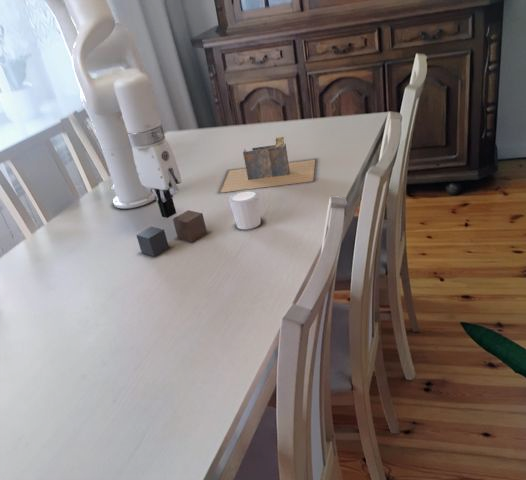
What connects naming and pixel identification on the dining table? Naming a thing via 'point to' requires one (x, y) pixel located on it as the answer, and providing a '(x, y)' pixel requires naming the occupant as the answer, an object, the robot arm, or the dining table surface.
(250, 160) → the ruin model on sheet
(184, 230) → the walnut block
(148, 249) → the charcoal block
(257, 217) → the white cylinder
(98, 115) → the robot arm
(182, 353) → the dining table surface
